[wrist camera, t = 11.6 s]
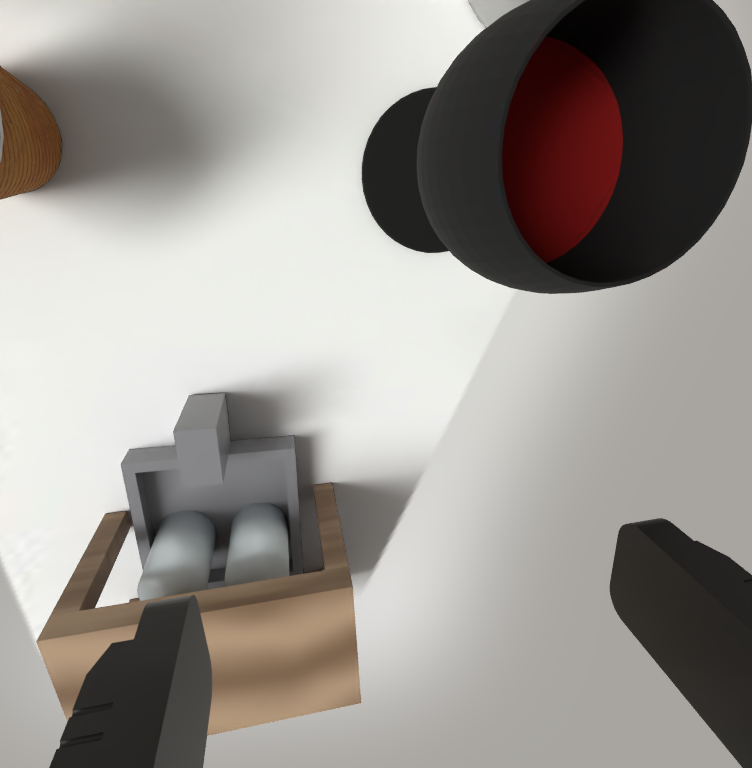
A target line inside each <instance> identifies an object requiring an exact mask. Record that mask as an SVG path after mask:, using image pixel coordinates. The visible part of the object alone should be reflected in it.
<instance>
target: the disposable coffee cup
mask: <svg viewBox="0 0 752 768" xmlns="http://www.w3.org/2000/svg"><path fill="white" fill-rule="evenodd" d="M61 152H62V140H61V137H60V133H59V129H58V125H57V123H56V121H55V119H54V117H53V115H52V113H51V112H50V110H49V109H48V107H47V106H46V104H45V103H44V102H43V101H42V100H41V99H40V98H39V97H38V96H37V95H36V94H35V93H34V92H33V91H32V90H31V89H29V88H28V87H27V86H26V85H24V84H23V83H21V82H20V81H19V80H17V79H16V78H15V77H13V76H12V75H11V74H10V73H8V72H7V71H6V70H5V69H3V68H2V67H1V66H0V200H1V199H4V198H7V197H11V196H14V195H18V194H21V193H26V192H29V191H33V190H36V189H38V188H39V187H41V186H43V185H44V184H45V183H46V182H48V181H49V180H50V179H51V178H52V176H53V175H54V173H55V172H56V170H57V168H58V166H59V163H60V159H61Z"/></svg>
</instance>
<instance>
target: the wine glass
mask: <svg viewBox="0 0 752 768" xmlns="http://www.w3.org/2000/svg"><path fill="white" fill-rule="evenodd" d="M751 125H752V77H751V69H750V66H749V63H748V59H747V56H746V53H745V50H744V47H743V45H742V42H741V40H740V38H739V35H738V33H737V31H736V28H735V27H734V25H733V24H732V23H731V21H730V20H729V18H728V17H727V15H726V14H725V13H724V11H723V10H722V9H721V8H720V7H719V6H718V5H717V4H716V3H715V2H714V1H713V0H530V1H528V2H526V3H524V4H522V5H520V6H518V7H516V8H514V9H513V10H511V11H509V12H508V13H506V14H504V15H502V16H501V17H500V18H499V19H497V20H496V21H495V22H493V23H492V24H491V25H490V26H488V27H487V28H486V29H484V30H483V31H482V32H481V33H480V34H478V35H477V36H476V37H475V38H474V39H473V40H472V41H471V42H470V43H469V44H468V45H467V46H466V47H465V49H464V50H463V51H462V52H461V53H460V54H459V55H458V56H457V57H456V59H455V60H454V61H453V63H452V64H451V66H450V67H449V68H448V70H447V71H446V73H445V74H444V76H443V77H442V79H441V80H440V82H439V84H438V86H437V87H435V88H427V89H422V90H419V91H416V92H413V93H411V94H409V95H407V96H405V97H403V98H401V99H400V100H399V101H397V102H396V103H395V104H393V105H392V106H391V107H390V108H389V109H388V110H387V111H386V112H385V113H384V114H383V115H382V116H381V117H380V119H379V120H378V122H377V123H376V125H375V126H374V128H373V130H372V132H371V134H370V136H369V138H368V141H367V144H366V148H365V151H364V156H363V162H362V184H363V192H364V195H365V199H366V202H367V205H368V207H369V210H370V212H371V214H372V216H373V218H374V219H375V221H376V222H377V224H378V225H379V226H380V227H381V229H382V230H383V231H384V232H385V233H386V234H387V235H388V236H389V237H391V238H392V239H393V240H394V241H396V242H398V243H399V244H401V245H403V246H405V247H407V248H410V249H413V250H416V251H420V252H426V253H439V252H445V251H450V252H451V253H452V254H453V256H455V257H456V258H457V259H458V260H459V261H461V262H462V263H463V264H464V265H465V266H467V267H468V268H470V269H471V270H472V271H474V272H476V273H478V274H479V275H481V276H483V277H485V278H486V279H489V280H491V281H493V282H496V283H499V284H502V285H505V286H507V287H510V288H515V289H519V290H525V291H531V292H536V293H548V294H557V293H579V292H588V291H595V290H601V289H606V288H611V287H616V286H621V285H626V284H630V283H633V282H636V281H639V280H641V279H644V278H647V277H649V276H651V275H653V274H655V273H657V272H659V271H661V270H662V269H665V268H666V267H668V266H669V265H671V264H672V263H673V262H675V261H676V260H678V259H679V258H680V257H682V256H683V255H684V254H685V253H686V252H687V251H688V250H689V249H691V247H693V246H694V245H695V244H696V243H697V242H698V241H699V240H700V239H701V237H702V236H703V235H704V234H705V233H706V232H707V230H708V229H709V228H710V227H711V226H712V224H713V223H714V221H715V220H716V218H717V217H718V215H719V214H720V212H721V211H722V209H723V208H724V206H725V205H726V203H727V201H728V199H729V197H730V195H731V192H732V191H733V189H734V186H735V184H736V182H737V179H738V177H739V174H740V172H741V169H742V167H743V164H744V161H745V156H746V152H747V148H748V144H749V140H750V139H749V138H750V133H751Z"/></svg>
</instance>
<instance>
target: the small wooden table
mask: <svg viewBox="0 0 752 768" xmlns="http://www.w3.org/2000/svg"><path fill="white" fill-rule="evenodd" d="M314 494H315V503H316V511H317V518H318V526H319V534H320V541H321V549H322V556H323V564H324V568H322V571H317V572H311V573H305V574H299V575H293V576H287V577H281V578H275V579H269V580H263V581H257V582H251V583H245V584H239V585H233V586H227V587H221V588H215V589H209V590H203V591H196V592H190V593H184V594H178V595H172V596H166V597H160V598H154V599H148V600H142V601H140V599H139V598H138V599H132V600H130V601H129V603H124V604H118V605H112V606H106V607H100V608H95V606H96V604H97V602H98V600H99V597H100V595H101V593H102V590H103V588H104V586H105V584H106V581H107V579H108V577H109V575H110V572H111V570H112V568H113V566H114V563H115V561H116V559H117V556H118V554H119V552H120V550H121V547H122V545H123V543H124V541H125V538H126V536H127V534H128V532H129V529H130V523H129V520H128V516H127V512H126V511H122V512H115V513H107V514H105V515H104V517H103V519H102V521H101V523H100V525H99V526H98V528H97V530H96V532H95V534H94V536H93V538H92V539H91V541H90V543H89V545H88V547H87V549H86V551H85V552H84V554H83V556H82V558H81V560H80V562H79V564H78V565H77V567H76V569H75V571H74V573H73V575H72V577H71V578H70V580H69V582H68V584H67V586H66V588H65V589H64V591H63V593H62V595H61V597H60V599H59V601H58V602H57V604H56V606H55V608H54V610H53V612H52V614H51V615H50V617H49V619H48V621H47V623H46V625H45V627H44V628H43V630H42V632H41V634H40V636H39V638H38V640H37V641H36V642H37V644H38V647H39V650H40V652H41V655H42V657H43V660H44V662H45V665H46V668H47V670H48V673H49V675H50V678H51V680H52V683H53V685H54V688H55V690H56V693H57V696H58V698H59V701H60V703H61V706H62V709H63V711H64V714H65V716H66V719H67V721H68V719H69V717H72V713H73V712H72V709H73V707H74V704H75V702H76V699H77V697H78V694H79V692H80V689H81V687H82V684H83V682H84V679H85V677H86V674H87V673H88V672H89V671H90V669H91V668H92V667H93V666H94V665H95V663H96V662H97V661H98V660H99V658H100V657H101V656H102V655H103V653H104V652H105V651H106V650H107V648H108V647H109V646H110V645H111V643H115V642H121V641H126V640H132V639H134V637H135V634H136V631H137V627H138V624H139V621H140V618H141V615H142V612H143V609H144V607H145V605H146V604H147V603H149V602H154V601H160V600H166V599H172V598H178V597H184V596H190V595H195V596H196V598H197V601H198V605H199V609H200V614H201V618H202V623H203V627H204V632H205V636H206V641H207V645H208V650H209V654H210V659H211V667H212V699H211V708H210V716H209V724H208V731H207V736H208V735H212V734H217V733H222V732H227V731H231V730H236V729H240V728H246V727H250V726H255V725H259V724H264V723H269V722H274V721H278V720H283V719H288V718H292V717H297V716H302V715H306V714H311V713H316V712H321V711H326V710H330V709H335V708H339V707H344V706H349V705H353V704H358V703H361V694H360V682H359V667H358V653H357V640H356V627H355V613H354V599H353V586H352V581H351V576H350V571H349V566H348V561H347V556H346V551H345V546H344V541H343V536H342V531H341V526H340V521H339V516H338V511H337V506H336V501H335V496H334V491H333V486H332V483H325V484H318V485H314Z"/></svg>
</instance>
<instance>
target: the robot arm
mask: <svg viewBox="0 0 752 768" xmlns="http://www.w3.org/2000/svg"><path fill="white" fill-rule="evenodd" d="M468 1H469V3H470V5H471V7H472V9H473V11H474V12H475V14H476V16H477V18H478V19H479V20H480V21H481V23H482V24H483V25H484V26H485V27H486V28H487V27H488V26H490V25H491V24H492V23H493V22H495V21H496V20H497V19H499V18H500V17H501V16H502V15H504V14H506V13H508V12H509V11H511V10H513V9H514V8H516V7H518V6H520V5H522V4H524V3H526V2H528V1H530V0H468ZM610 595H611V599H612V602H613V605H614V608H615V610H616V612H617V614H618V615H619V617H620V618H621V620H622V621H623V622H624V623H625V625H626V626H627V627H628V628H629V630H630V631H631V632H632V633H633V635H634V636H635V637H636V638H637V639H638V641H639V642H640V643H641V644H642V646H643V647H644V648H645V649H646V650H647V652H648V653H649V654H650V655H651V656H652V658H653V659H654V660H655V661H656V663H657V664H658V665H659V666H660V667H661V669H662V670H663V671H664V672H665V673H666V675H667V676H668V677H669V678H670V679H671V681H672V682H673V683H674V684H675V686H676V687H677V688H678V689H679V691H680V692H681V693H682V694H683V696H684V697H685V698H686V699H687V700H688V701H689V703H690V704H691V705H692V706H693V708H694V709H695V710H696V711H697V713H698V714H699V715H700V716H701V717H702V719H703V720H704V721H705V722H706V724H707V725H708V726H709V727H710V728H711V730H712V731H713V732H714V733H715V734H716V736H717V737H718V738H719V739H720V740H721V742H722V743H723V744H724V745H725V747H726V748H727V749H728V750H729V752H730V753H731V754H732V755H733V756H734V758H735V759H736V760H737V761H738V762H739V764H740V765H741V766H742V767H743V768H752V575H751V574H750V573H748V572H747V571H746V570H744V569H743V568H742V567H741V566H739V565H738V564H737V563H735V562H734V561H733V560H732V559H731V558H729V557H728V556H726V555H724V554H722V553H720V552H718V551H716V550H714V549H712V548H710V547H708V546H706V545H704V544H702V543H700V542H698V541H693V540H692V539H691V538H690V537H688V536H687V535H686V534H685V533H683V532H682V531H681V530H680V529H679V528H677V527H676V526H675V525H674V524H672V523H671V522H670V521H668V520H666V519H662V518H659V519H653V520H647V521H641V522H635V523H629V524H625V525H623V526H622V527H621V528H620V530H619V534H618V538H617V545H616V550H615V556H614V562H613V568H612V574H611V581H610ZM211 699H212V667H211V659H210V654H209V650H208V645H207V641H206V636H205V632H204V627H203V623H202V618H201V614H200V609H199V605H198V601H197V598H196V596H195V595H190V596H184V597H178V598H172V599H166V600H160V601H154V602H149V603H147V604H146V605H145V607H144V609H143V612H142V615H141V618H140V621H139V624H138V627H137V631H136V634H135V637H134V639H132V640H126V641H121V642H115V643H111V645H110V646H109V647H108V648H107V650H106V651H105V652H104V653H103V655H102V656H101V657H100V658H99V660H98V661H97V662H96V663H95V665H94V666H93V667H92V668H91V669H90V671H89V672H88V673H87V674H86V677H85V679H84V682H83V684H82V687H81V689H80V692H79V694H78V697H77V699H76V702H75V704H74V707H73V709H72V712H73V713H72V717H69V719H68V722H67V725H66V727H65V730H64V732H63V735H62V737H61V740H60V748H59V749H57V750H56V752H55V755H54V758H53V760H52V762H51V765H50V767H49V768H203V763H204V755H205V747H206V739H207V731H208V724H209V716H210V708H211Z"/></svg>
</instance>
